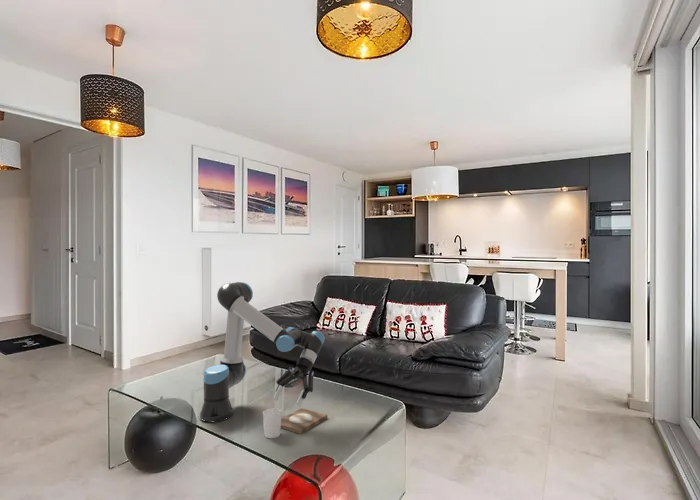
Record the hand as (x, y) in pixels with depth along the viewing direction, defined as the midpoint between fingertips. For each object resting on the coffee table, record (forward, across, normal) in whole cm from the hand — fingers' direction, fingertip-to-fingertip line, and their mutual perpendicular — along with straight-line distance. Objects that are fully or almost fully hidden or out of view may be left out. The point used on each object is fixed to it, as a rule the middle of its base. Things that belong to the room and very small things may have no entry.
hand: (286, 402), depth 172 cm
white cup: (+14, +1, -3) cm, 14 cm away
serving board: (+2, -1, -15) cm, 15 cm away
